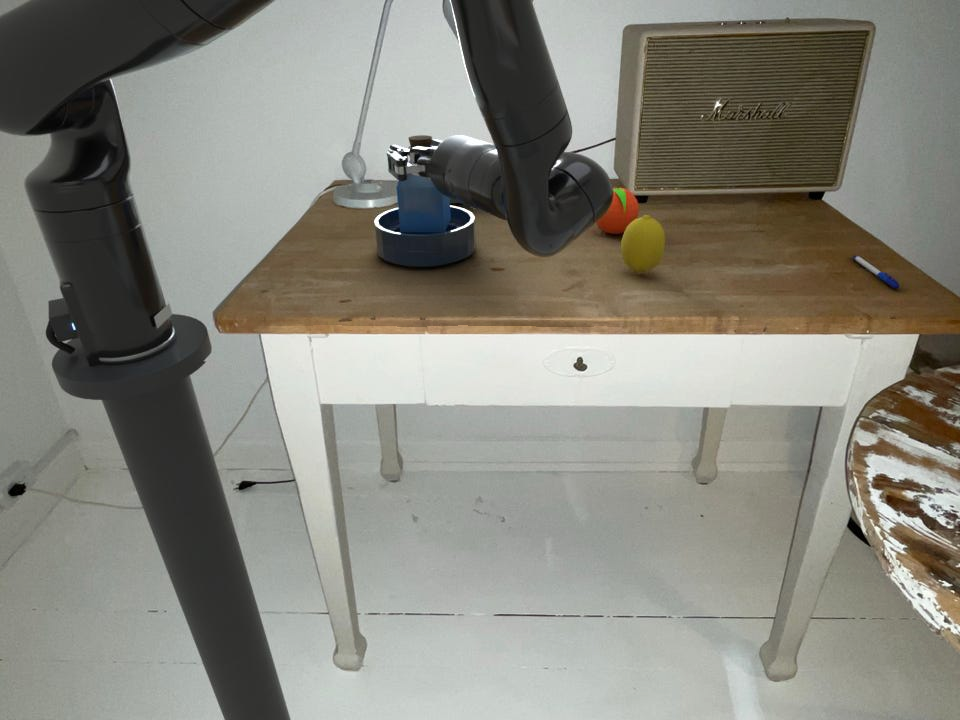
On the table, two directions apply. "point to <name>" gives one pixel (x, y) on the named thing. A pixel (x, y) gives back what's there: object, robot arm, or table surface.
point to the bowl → (425, 240)
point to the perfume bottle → (422, 199)
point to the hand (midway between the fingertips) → (413, 150)
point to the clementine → (619, 212)
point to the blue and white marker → (878, 273)
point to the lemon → (643, 244)
